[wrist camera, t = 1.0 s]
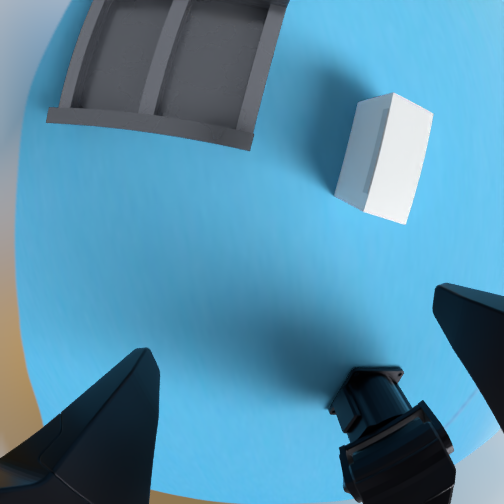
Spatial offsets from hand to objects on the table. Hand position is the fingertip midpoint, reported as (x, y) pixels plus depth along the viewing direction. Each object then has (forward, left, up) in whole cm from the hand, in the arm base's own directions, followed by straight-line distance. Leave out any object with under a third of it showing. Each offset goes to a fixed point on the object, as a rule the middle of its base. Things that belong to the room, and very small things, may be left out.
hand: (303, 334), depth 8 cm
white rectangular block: (-6, -6, -13) cm, 16 cm away
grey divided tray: (+9, -10, -13) cm, 18 cm away
